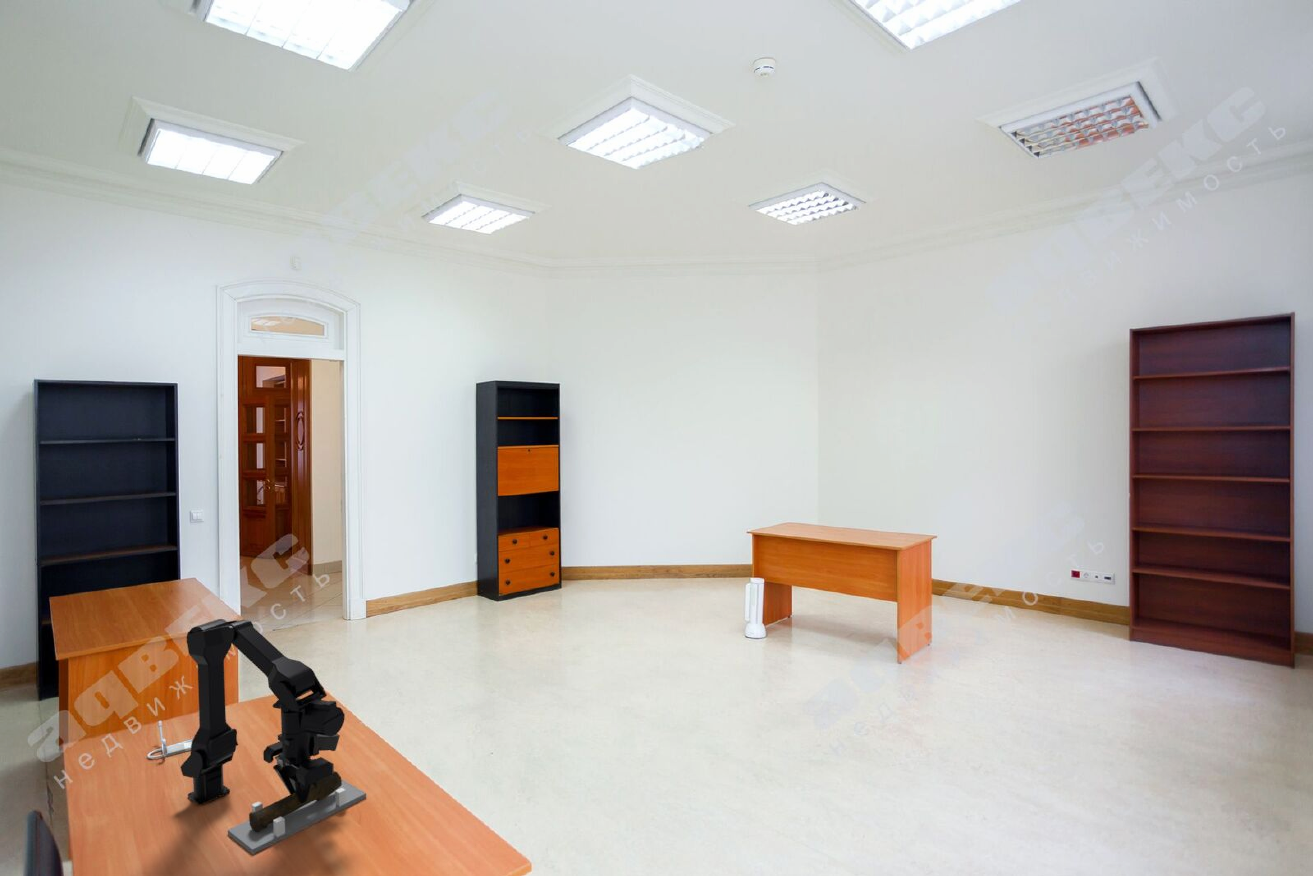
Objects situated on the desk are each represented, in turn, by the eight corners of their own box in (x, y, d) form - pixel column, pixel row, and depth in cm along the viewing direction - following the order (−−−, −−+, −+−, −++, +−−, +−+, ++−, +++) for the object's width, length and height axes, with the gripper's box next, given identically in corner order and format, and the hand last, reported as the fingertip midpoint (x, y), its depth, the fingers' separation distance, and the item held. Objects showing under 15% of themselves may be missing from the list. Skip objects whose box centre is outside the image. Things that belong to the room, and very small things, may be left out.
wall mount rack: (148, 766, 170) (147, 742, 170) (145, 745, 181) (144, 723, 181) (222, 745, 180) (221, 723, 180) (215, 727, 191) (214, 706, 191)
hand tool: (256, 836, 140) (254, 814, 139) (248, 829, 142) (246, 807, 142) (347, 791, 155) (346, 771, 154) (338, 785, 157) (337, 765, 157)
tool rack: (227, 834, 142) (227, 815, 142) (339, 782, 162) (339, 765, 161) (252, 854, 136) (251, 834, 136) (366, 797, 155) (365, 780, 155)
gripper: (356, 725, 149) (358, 796, 150) (311, 704, 160) (313, 770, 161) (304, 746, 140) (307, 821, 141) (260, 722, 151) (263, 792, 152)
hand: (299, 799), depth 149 cm, fingers closed on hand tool, 3 cm apart
